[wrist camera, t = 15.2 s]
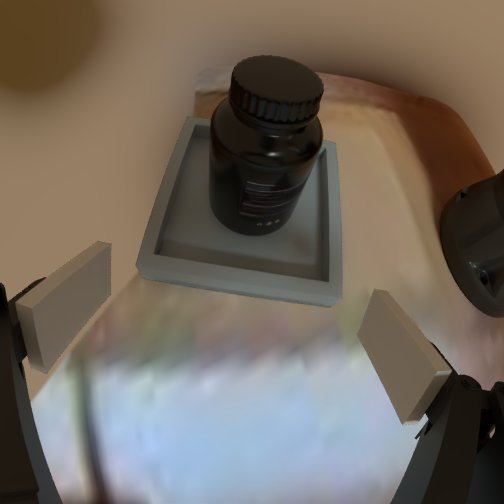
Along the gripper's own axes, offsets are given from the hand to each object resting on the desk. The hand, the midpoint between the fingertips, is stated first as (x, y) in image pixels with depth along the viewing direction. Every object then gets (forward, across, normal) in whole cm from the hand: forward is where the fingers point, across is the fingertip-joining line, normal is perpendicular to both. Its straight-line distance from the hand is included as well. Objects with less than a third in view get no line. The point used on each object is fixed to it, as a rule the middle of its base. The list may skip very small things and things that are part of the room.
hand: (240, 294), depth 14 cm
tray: (+12, 0, +2) cm, 12 cm away
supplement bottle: (+12, 0, +2) cm, 12 cm away
